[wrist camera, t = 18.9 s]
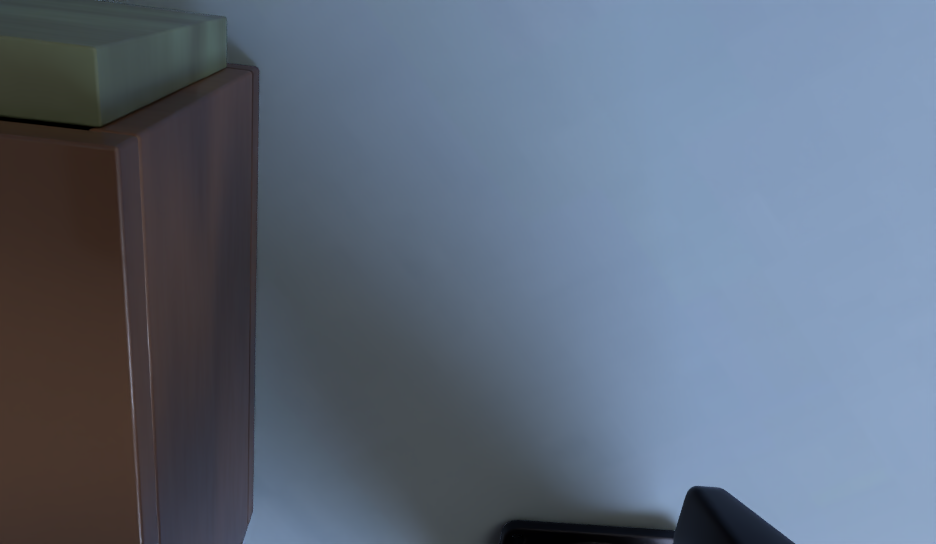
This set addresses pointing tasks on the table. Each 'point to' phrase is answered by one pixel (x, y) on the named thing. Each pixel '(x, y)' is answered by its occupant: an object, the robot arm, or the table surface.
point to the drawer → (99, 59)
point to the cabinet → (131, 322)
